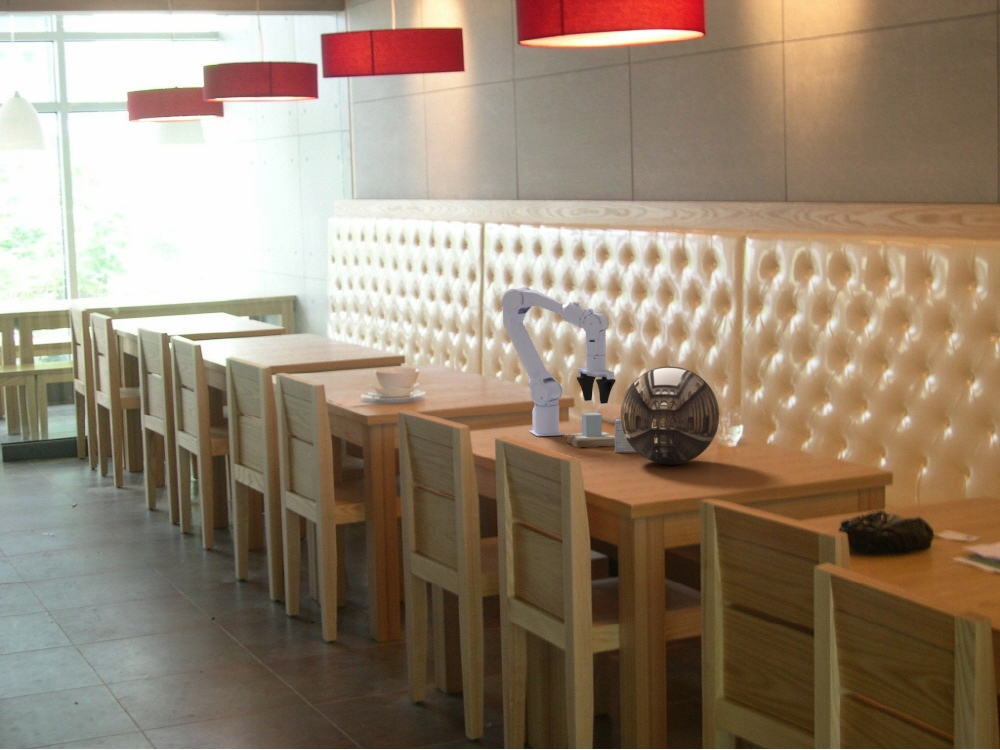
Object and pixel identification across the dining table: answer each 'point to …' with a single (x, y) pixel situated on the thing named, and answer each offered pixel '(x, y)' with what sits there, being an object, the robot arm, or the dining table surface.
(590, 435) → the block
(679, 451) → the sphere
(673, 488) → the dining table surface
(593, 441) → the brown picture frame
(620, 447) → the medicine box
